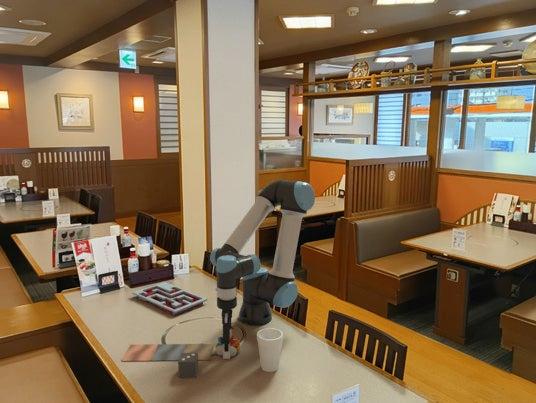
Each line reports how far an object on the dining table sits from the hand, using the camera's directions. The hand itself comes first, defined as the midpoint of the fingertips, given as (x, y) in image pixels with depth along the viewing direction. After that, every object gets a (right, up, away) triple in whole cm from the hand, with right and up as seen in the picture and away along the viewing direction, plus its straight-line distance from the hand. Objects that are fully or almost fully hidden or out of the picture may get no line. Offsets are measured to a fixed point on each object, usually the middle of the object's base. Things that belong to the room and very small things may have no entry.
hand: (227, 351), depth 167 cm
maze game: (-34, +8, +49) cm, 60 cm away
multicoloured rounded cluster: (0, 0, 0) cm, 1 cm away
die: (-12, -3, -14) cm, 19 cm away
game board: (-22, 0, -1) cm, 22 cm away
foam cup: (+16, -2, -10) cm, 19 cm away
